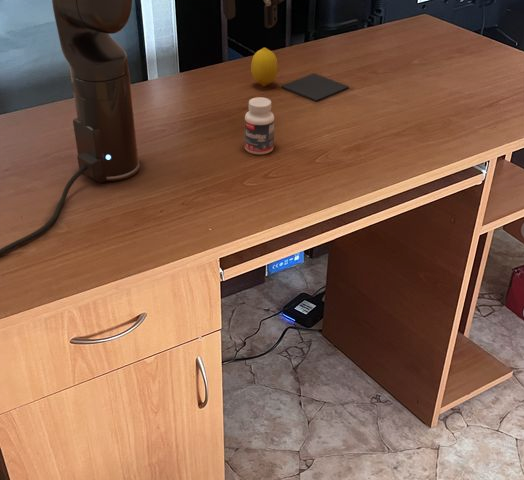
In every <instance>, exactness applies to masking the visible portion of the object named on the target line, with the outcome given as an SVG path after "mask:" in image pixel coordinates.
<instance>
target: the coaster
mask: <svg viewBox="0 0 524 480" xmlns="http://www.w3.org/2000/svg"><path fill="white" fill-rule="evenodd" d="M349 88H350V87H349V86H348V85H345V84H343V83H341V82H338V81H335V80H332V79H331V78H327V77H324V76H322V75H319V74H316V73H311V74H309V75H306V76H303V77H301V78H298V79H296V80H293V81H291V82H288V83H286V84H282V85H281V87H280V89H284V90H286V91H289V92H291V93H292V94H293V93H294V94H296V95H298V96H301V97H302V98H303V97H304V98H306V99H309V100H310V101H313V102H316V103H317V102H320V101H321V100H324V99H326V98H329V97H331V96H333V95H336V94H339V93H341V92H343V91H346V90H348V89H349Z"/></svg>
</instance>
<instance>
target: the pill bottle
mask: <svg viewBox="0 0 524 480" xmlns="http://www.w3.org/2000/svg"><path fill="white" fill-rule="evenodd" d="M274 147H275V115H274V113H273V112H272V101H271V99H269V98H267V97H263V96H262V97H260V96H259V97H253V98H251V99H249V100H248V111H247V112H246V113H245V115H244V149H245V150H246V152H247V153H249V154H253V155H267V154H270V153H271V152H273V150H274Z"/></svg>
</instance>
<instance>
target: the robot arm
mask: <svg viewBox="0 0 524 480" xmlns="http://www.w3.org/2000/svg"><path fill="white" fill-rule="evenodd" d="M262 1H263V3H264V4H265V5H264V7H263V10H264V11H263V12H264V13H263V14H264V28H266V29H271V28H272V27H274V26H275V25H276V24H277V22H278V5H279V4H280V3H282V2H284V1H286V0H262ZM51 3H52V11H53V15H54V20H55V26H56V30H57V34H58V40H59V45H60V50H61V52H62V54H63V57H64V59H65V60H66V62H67V64H68V67H69V71H70V78H71V85H72V93H73V98H74V105H75V106H74V107H75V112H76V118H73V119H72V125H73V131H74V132H73V133H74V138H75V142H76V143H75V145H76V151H77V155H76V157H77V164H78V170H77V171H76V172H75V173H74V174H73V175H72V177H70V179H69V180H68V182H67V183H66V185H65V186H64V189H63V191H62V194H61V197H60V199H59V201H58V203H57V205H56V207H55V210H54V212H53V214H52V216H51V218H50V219H49V220H48V221H47V222H46V223H44V225H42V226H41V227H39V228H38V229H37V230H35V231H33V232H32V233H30V234H28V235H26V236H23V237H21V238H19V239H17V240H15V241H13V242H11V243H9V244H7V245H5V246H3V247H2V248H0V256H2V255H3V254H5V253H8V252H9V251H11V250H13V249H15V248H17V247H18V246H21V245H23V244H26V243H27V242H29V241H31V240H33V239H35V238H37V237H38V236H40V235H41V234H43V233H44V232H46V231H47V230H49V228H50V227H51V226H52V225H53V224H54V223H55V222H56V220H57V219H58V217H59V215H60V212H61V210H62V208H63V206H64V204H65V202H66V198H67V197H68V194H69V192H70V189H71V187H72V186H73V185H74V183H75V181H76V180H77V179H78V178H80V177H81V176H82V174H84V175H86V176H87V177H89V178H91V179H93V180H94V181H96V182H98V183H99V184H104V183H106V182H116V181H122V180H125V179H128V178H129V179H130V178H131V177H132V176H135V175H136V174H137V173H138V172H139V170H140V167H141V166H140V160H139V152H138V143H137V134H136V125H135V118H134V117H135V115H134V107H133V98H132V97H133V96H132V89H131V88H132V87H131V77H130V68H129V59H128V54H127V52H126V51H125V49H124V48H123V47H122V46H121V45H119V43H117V41H116V40H114V38H113V37H112V36H111V35H114V34H117V33H120V32H121V31H122V30H123V29H124V28H125V27H126V25H127V23H128V22H129V20H130V19H129V18H130V17H131V14H132V8H133V0H51ZM222 13H223V16H224V18H225V19H226V20H232V19H234V18H235V17H236V0H222Z"/></svg>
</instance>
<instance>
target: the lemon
mask: <svg viewBox="0 0 524 480" xmlns="http://www.w3.org/2000/svg"><path fill="white" fill-rule="evenodd" d="M250 71H251V76H252V78H253V80H254V81H255V82H256V83H258V84H259V85H260V84H261V86H262V87H266V86H268V85H269V84H271V83H272V82H274V80H275V79H276V78H277V75H278V71H279V63H278V59H277V56H276V54H275V53H274V52H273V51H272V50H270V49H269V48H267V47H262V48H261V49H259V50H257V51H256V52H255V53H254V54H253V56H252V58H251V65H250Z"/></svg>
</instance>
